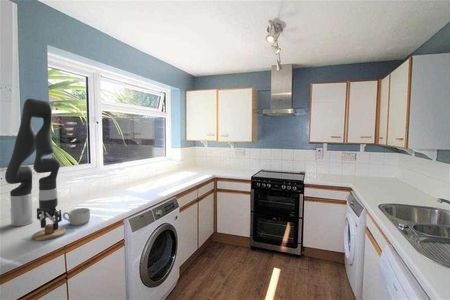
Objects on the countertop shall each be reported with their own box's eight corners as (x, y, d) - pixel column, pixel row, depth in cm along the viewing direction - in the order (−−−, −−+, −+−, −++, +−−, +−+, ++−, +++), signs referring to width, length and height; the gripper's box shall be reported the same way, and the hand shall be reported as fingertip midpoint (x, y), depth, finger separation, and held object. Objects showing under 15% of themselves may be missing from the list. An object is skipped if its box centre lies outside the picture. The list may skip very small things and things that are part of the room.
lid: (25, 238, 116) (24, 228, 115) (53, 227, 129) (53, 218, 129) (45, 242, 112) (45, 232, 111) (72, 231, 125) (72, 222, 124)
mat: (21, 240, 115) (21, 239, 115) (54, 228, 130) (54, 226, 130) (44, 246, 110) (44, 244, 110) (75, 232, 125) (75, 230, 125)
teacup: (94, 220, 143) (93, 207, 142) (83, 228, 132) (83, 214, 131) (70, 220, 142) (70, 207, 142) (58, 228, 131) (58, 213, 131)
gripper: (30, 198, 118) (31, 229, 119) (50, 201, 113) (52, 233, 114) (45, 194, 125) (47, 224, 126) (65, 197, 120) (66, 228, 121)
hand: (49, 228), depth 120 cm, fingers open, 8 cm apart
